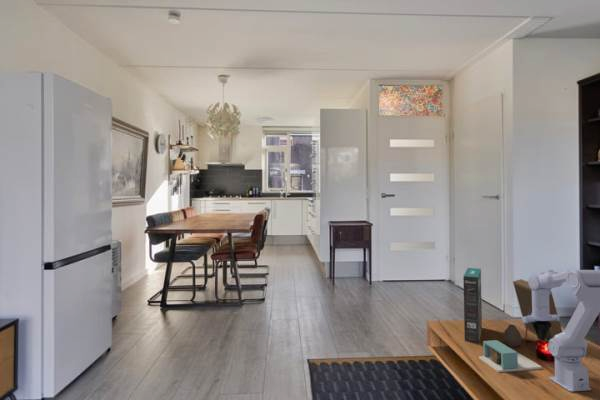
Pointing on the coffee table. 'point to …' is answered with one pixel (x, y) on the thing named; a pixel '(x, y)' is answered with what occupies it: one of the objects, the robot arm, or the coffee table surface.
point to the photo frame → (526, 309)
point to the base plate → (522, 365)
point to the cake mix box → (472, 305)
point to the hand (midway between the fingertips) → (541, 339)
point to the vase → (512, 336)
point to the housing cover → (502, 353)
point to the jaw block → (495, 356)
